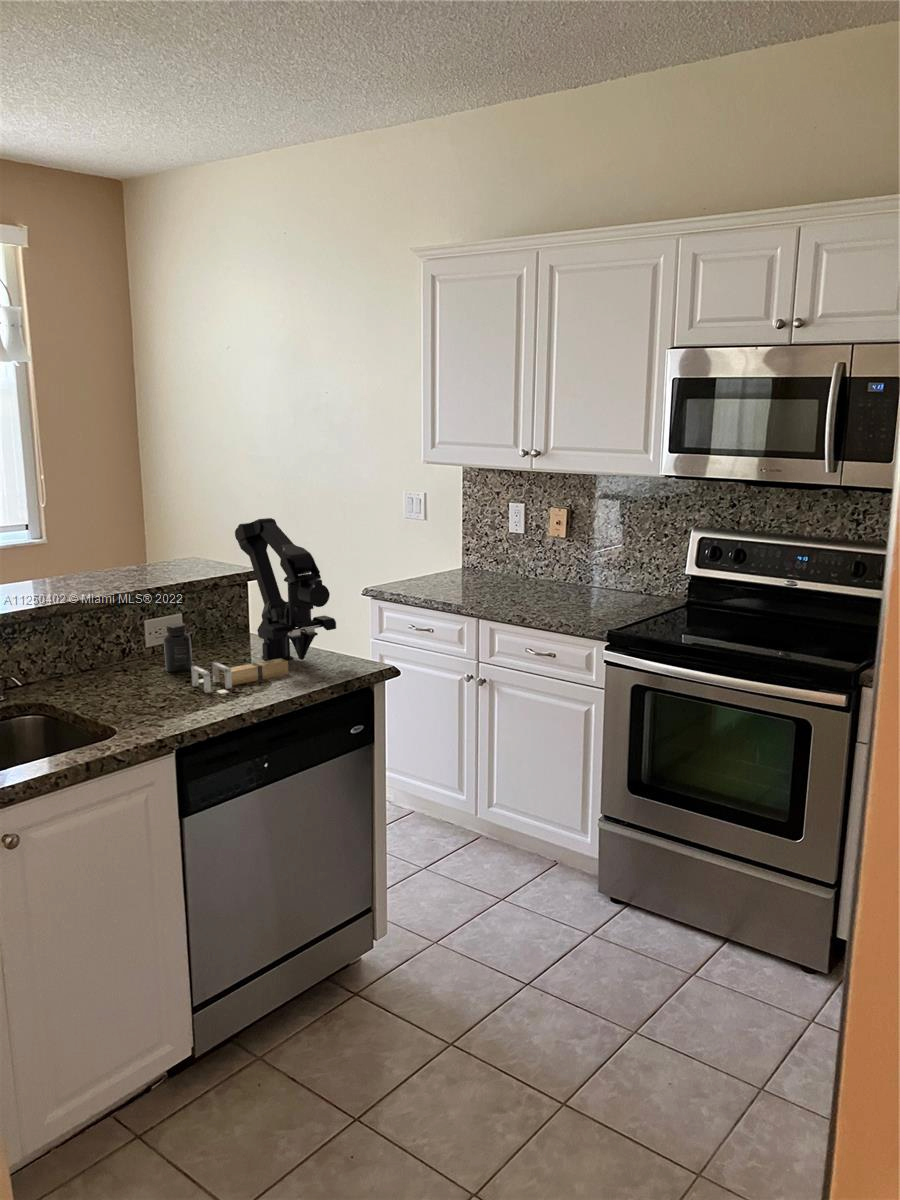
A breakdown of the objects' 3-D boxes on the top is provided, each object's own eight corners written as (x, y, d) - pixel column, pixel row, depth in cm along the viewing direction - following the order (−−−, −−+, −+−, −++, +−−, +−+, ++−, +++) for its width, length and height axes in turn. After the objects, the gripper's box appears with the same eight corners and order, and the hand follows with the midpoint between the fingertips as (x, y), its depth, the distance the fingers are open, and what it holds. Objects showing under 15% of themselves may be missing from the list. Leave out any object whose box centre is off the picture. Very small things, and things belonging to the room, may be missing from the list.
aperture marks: (203, 679, 241) (203, 678, 241) (228, 692, 231) (228, 691, 231) (195, 681, 240) (195, 680, 240) (221, 694, 229) (221, 693, 229)
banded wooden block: (281, 671, 249) (281, 657, 249) (288, 674, 247) (288, 660, 246) (224, 682, 239) (224, 668, 239) (231, 685, 237) (230, 671, 236)
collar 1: (196, 684, 237) (195, 665, 236) (211, 692, 231) (209, 672, 230) (192, 685, 236) (191, 666, 235) (206, 693, 230) (205, 673, 229)
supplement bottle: (196, 666, 254) (194, 622, 251) (187, 673, 247) (184, 628, 245) (171, 665, 254) (168, 621, 252) (161, 672, 248) (158, 627, 245)
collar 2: (217, 680, 241) (216, 661, 240) (232, 688, 234) (231, 668, 233) (213, 681, 240) (211, 662, 239) (227, 689, 234) (226, 669, 233)
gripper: (314, 591, 259) (316, 647, 262) (251, 600, 248) (254, 658, 251) (336, 597, 251) (338, 655, 254) (272, 607, 239) (275, 668, 242)
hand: (301, 659), depth 251 cm, fingers closed
